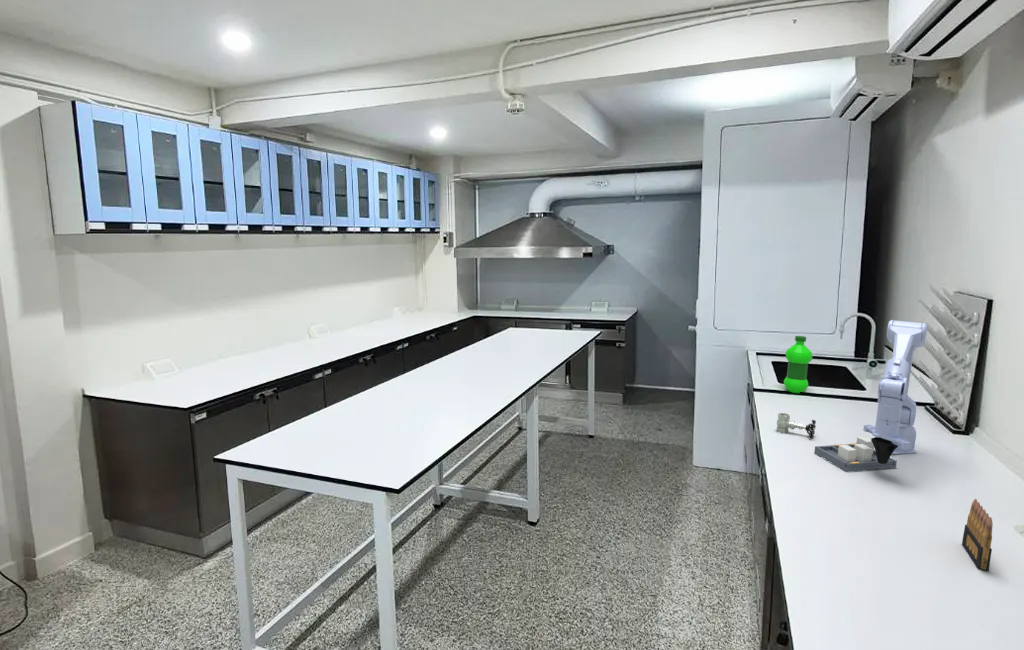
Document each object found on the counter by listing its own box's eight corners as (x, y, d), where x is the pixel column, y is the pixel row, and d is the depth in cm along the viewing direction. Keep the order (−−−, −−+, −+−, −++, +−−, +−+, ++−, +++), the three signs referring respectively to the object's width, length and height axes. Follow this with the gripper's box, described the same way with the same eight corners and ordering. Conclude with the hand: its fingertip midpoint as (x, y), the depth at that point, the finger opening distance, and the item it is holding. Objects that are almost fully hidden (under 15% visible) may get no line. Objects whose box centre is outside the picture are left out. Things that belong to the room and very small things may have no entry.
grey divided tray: (860, 450, 184) (861, 442, 183) (895, 468, 170) (896, 460, 169) (814, 453, 181) (815, 445, 180) (846, 472, 167) (847, 463, 167)
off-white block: (860, 457, 174) (862, 443, 174) (870, 462, 170) (872, 448, 170) (852, 458, 174) (854, 444, 173) (862, 463, 170) (864, 449, 169)
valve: (774, 433, 198) (811, 441, 191) (775, 415, 197) (813, 422, 190) (777, 428, 204) (814, 435, 197) (779, 410, 202) (816, 417, 196)
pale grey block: (863, 449, 180) (864, 436, 180) (872, 454, 176) (874, 441, 176) (855, 450, 180) (857, 437, 179) (865, 455, 176) (866, 441, 175)
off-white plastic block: (845, 458, 173) (846, 444, 173) (855, 463, 170) (856, 450, 169) (837, 459, 173) (838, 445, 172) (846, 464, 169) (848, 450, 168)
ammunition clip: (961, 543, 130) (969, 496, 127) (971, 545, 129) (979, 497, 127) (977, 569, 120) (986, 518, 118) (988, 571, 119) (997, 520, 117)
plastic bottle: (807, 396, 242) (813, 340, 237) (780, 392, 247) (785, 337, 243) (809, 390, 250) (815, 336, 246) (783, 386, 256) (789, 333, 251)
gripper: (856, 411, 168) (851, 453, 171) (897, 428, 154) (890, 474, 157) (877, 410, 170) (871, 452, 172) (919, 427, 156) (912, 472, 158)
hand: (882, 462), depth 164 cm, fingers closed
